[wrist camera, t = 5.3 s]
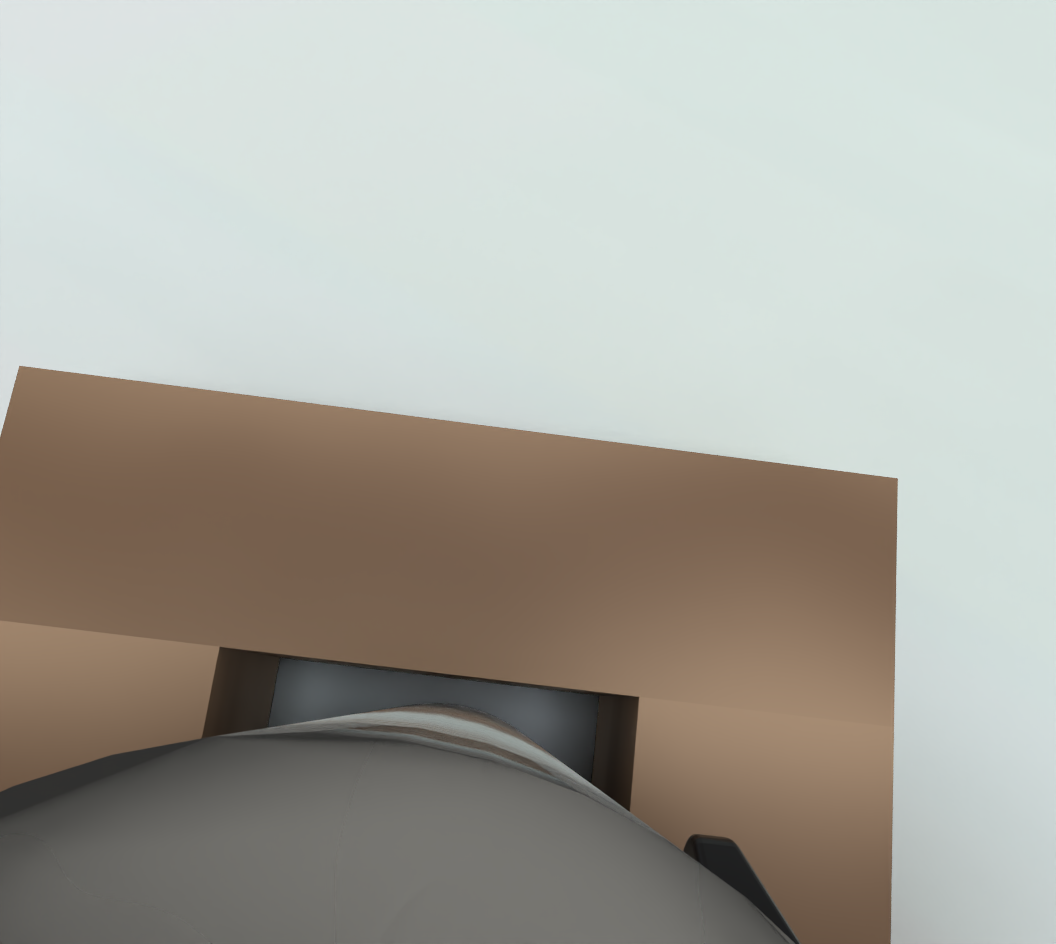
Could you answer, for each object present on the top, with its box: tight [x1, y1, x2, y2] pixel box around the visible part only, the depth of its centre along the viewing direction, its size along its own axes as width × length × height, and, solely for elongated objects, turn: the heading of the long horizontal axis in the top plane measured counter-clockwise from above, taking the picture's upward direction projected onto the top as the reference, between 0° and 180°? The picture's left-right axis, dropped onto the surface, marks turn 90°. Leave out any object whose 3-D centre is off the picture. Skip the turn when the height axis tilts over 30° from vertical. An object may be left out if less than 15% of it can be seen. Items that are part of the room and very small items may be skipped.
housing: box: [0, 366, 898, 944], centre depth 14 cm, size 13×13×4 cm
